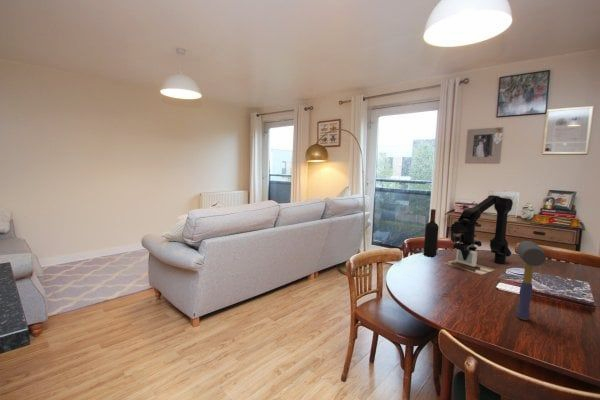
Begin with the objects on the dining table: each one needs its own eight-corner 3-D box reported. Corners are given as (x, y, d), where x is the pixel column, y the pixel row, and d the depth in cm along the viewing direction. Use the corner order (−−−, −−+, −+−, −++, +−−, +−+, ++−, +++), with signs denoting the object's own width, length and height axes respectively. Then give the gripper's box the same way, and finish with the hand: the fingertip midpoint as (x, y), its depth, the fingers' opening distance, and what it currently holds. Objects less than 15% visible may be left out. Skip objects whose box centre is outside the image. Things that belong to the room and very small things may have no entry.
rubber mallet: (538, 329, 107) (549, 249, 103) (513, 323, 110) (522, 246, 106) (531, 313, 118) (540, 240, 114) (508, 309, 121) (516, 238, 117)
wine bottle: (420, 254, 191) (424, 208, 187) (429, 253, 195) (432, 208, 191) (430, 258, 185) (434, 210, 181) (439, 256, 188) (442, 210, 184)
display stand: (458, 260, 181) (458, 256, 181) (495, 271, 164) (495, 266, 163) (443, 264, 173) (444, 260, 173) (480, 276, 156) (481, 272, 155)
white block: (455, 261, 170) (456, 248, 169) (458, 260, 171) (459, 247, 170) (473, 266, 161) (474, 252, 160) (476, 265, 163) (477, 251, 162)
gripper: (463, 227, 175) (461, 253, 178) (445, 231, 166) (443, 258, 168) (483, 231, 166) (480, 258, 168) (464, 235, 156) (462, 264, 158)
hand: (466, 259), depth 166 cm, fingers closed on white block, 3 cm apart
